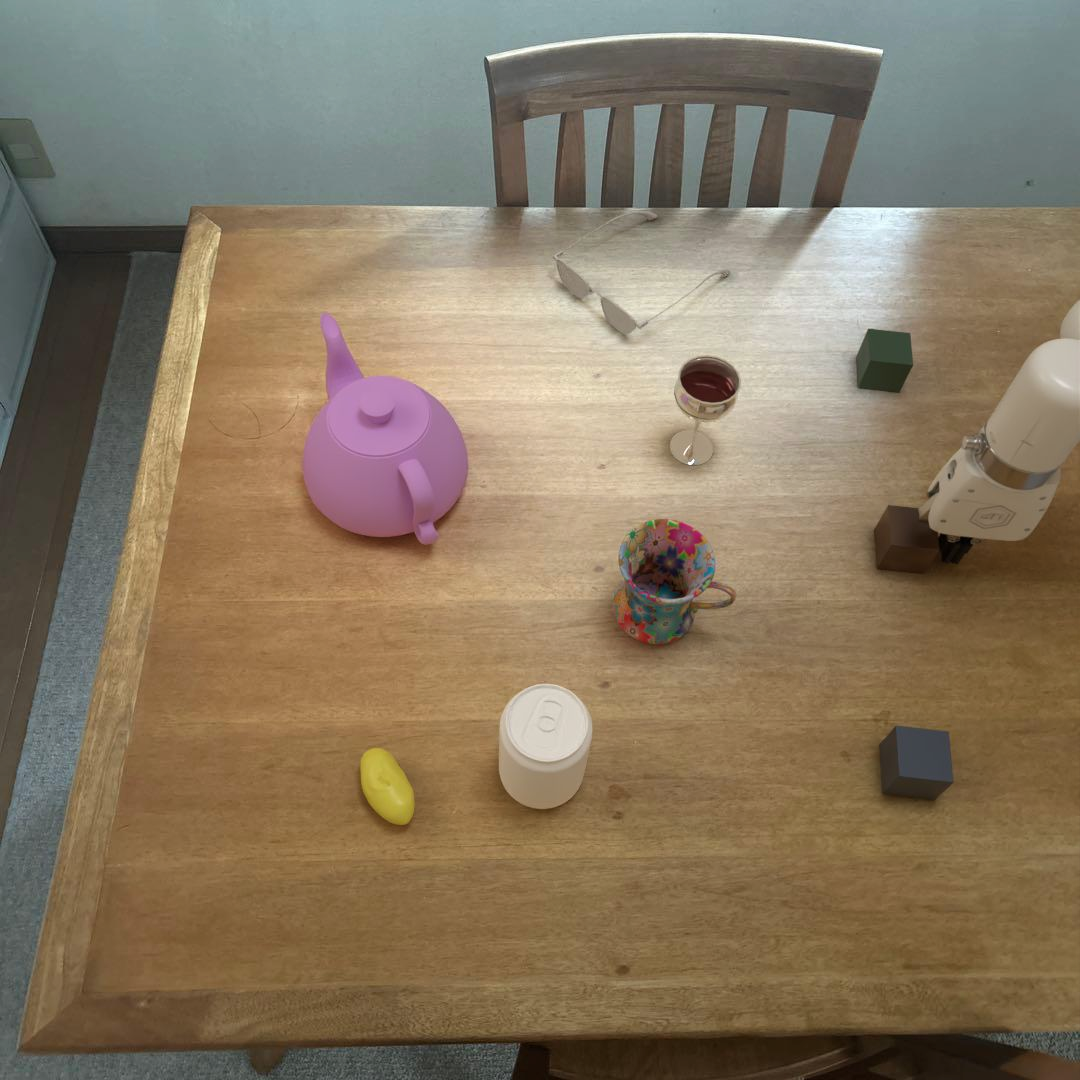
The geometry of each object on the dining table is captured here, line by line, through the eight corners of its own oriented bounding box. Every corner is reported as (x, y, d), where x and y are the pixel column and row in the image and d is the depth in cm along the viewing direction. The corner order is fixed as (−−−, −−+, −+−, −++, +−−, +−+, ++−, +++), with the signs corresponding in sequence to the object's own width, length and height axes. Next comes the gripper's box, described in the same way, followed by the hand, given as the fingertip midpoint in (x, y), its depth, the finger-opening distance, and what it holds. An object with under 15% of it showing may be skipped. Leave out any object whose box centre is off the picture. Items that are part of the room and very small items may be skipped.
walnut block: (919, 534, 119) (935, 509, 114) (923, 573, 116) (939, 549, 112) (873, 529, 119) (887, 504, 114) (876, 568, 116) (891, 544, 112)
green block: (896, 360, 132) (910, 332, 127) (899, 392, 129) (913, 365, 125) (855, 356, 132) (868, 328, 127) (857, 388, 129) (870, 360, 125)
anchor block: (930, 750, 105) (949, 731, 101) (934, 800, 103) (954, 782, 99) (879, 744, 106) (895, 725, 101) (882, 794, 103) (899, 776, 99)
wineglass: (688, 481, 121) (706, 415, 111) (649, 441, 124) (664, 372, 113) (733, 453, 123) (755, 386, 113) (694, 414, 126) (712, 345, 116)
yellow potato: (393, 747, 103) (389, 732, 100) (425, 822, 100) (423, 808, 96) (351, 764, 102) (346, 750, 99) (382, 841, 99) (379, 828, 95)
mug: (595, 633, 111) (605, 582, 102) (624, 560, 115) (636, 506, 106) (708, 673, 109) (728, 625, 100) (732, 598, 113) (754, 545, 104)
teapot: (508, 522, 117) (510, 447, 106) (359, 592, 112) (344, 521, 100) (405, 366, 128) (396, 282, 116) (264, 423, 123) (241, 341, 111)
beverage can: (487, 796, 101) (486, 750, 91) (513, 719, 105) (516, 667, 95) (570, 822, 100) (579, 779, 90) (593, 743, 104) (604, 693, 94)
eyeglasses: (549, 276, 137) (551, 252, 133) (650, 212, 143) (654, 188, 140) (635, 347, 131) (639, 324, 128) (735, 277, 138) (742, 254, 134)
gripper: (941, 476, 99) (880, 575, 114) (1105, 492, 98) (1022, 589, 114) (934, 411, 103) (876, 515, 118) (1092, 427, 102) (1013, 529, 118)
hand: (948, 551), depth 116 cm, fingers closed
